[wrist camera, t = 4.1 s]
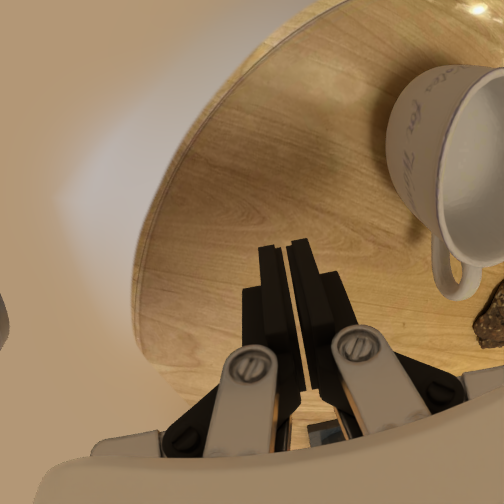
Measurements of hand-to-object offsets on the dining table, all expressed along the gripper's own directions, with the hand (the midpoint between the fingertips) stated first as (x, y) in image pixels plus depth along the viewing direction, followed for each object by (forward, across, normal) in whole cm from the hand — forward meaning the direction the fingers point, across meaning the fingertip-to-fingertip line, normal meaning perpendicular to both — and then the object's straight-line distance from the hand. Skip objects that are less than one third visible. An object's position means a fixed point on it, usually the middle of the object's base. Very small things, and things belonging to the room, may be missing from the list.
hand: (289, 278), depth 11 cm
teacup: (+10, -11, 0) cm, 15 cm away
